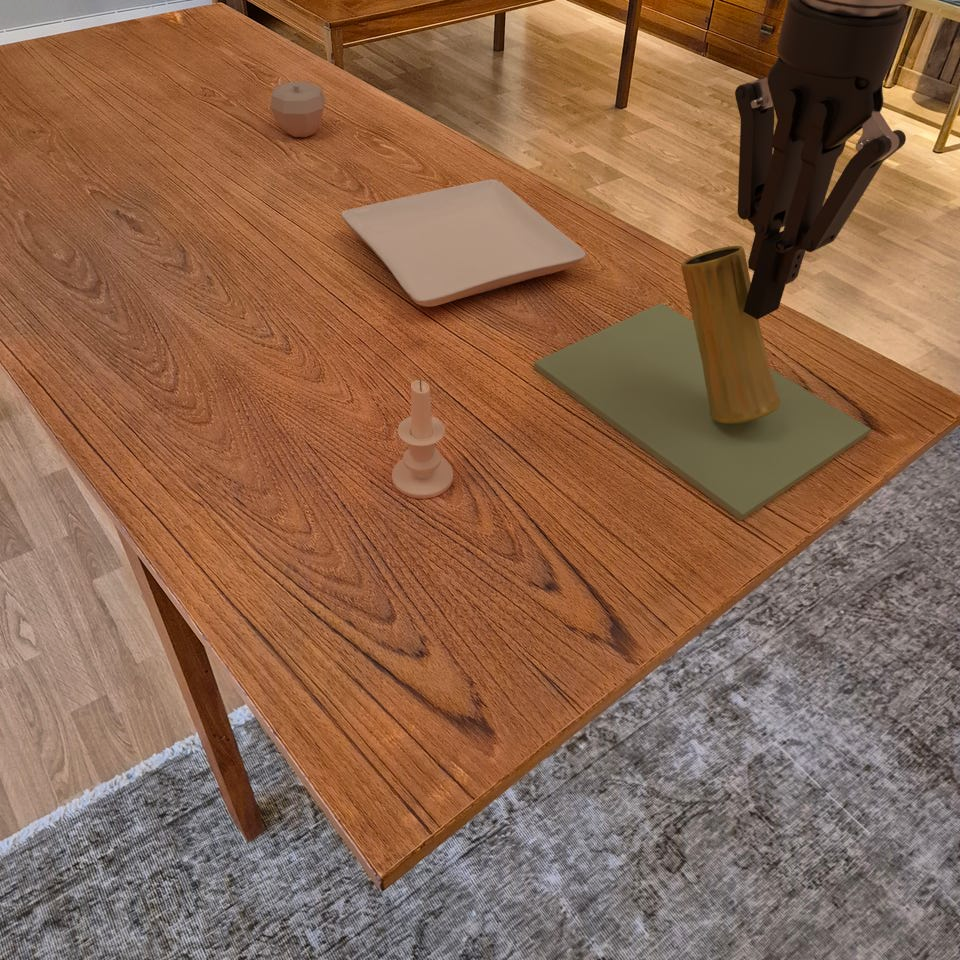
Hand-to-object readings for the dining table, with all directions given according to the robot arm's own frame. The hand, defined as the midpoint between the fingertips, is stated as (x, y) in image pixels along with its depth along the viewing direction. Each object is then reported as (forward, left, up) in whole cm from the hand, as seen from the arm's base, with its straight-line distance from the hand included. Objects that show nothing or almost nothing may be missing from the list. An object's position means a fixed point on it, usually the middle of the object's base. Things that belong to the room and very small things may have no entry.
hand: (760, 309), depth 74 cm
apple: (+46, +64, -12) cm, 80 cm away
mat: (+2, +3, -12) cm, 13 cm away
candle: (-16, +24, -12) cm, 32 cm away
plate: (+20, +32, -12) cm, 40 cm away
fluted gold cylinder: (-1, -1, -10) cm, 10 cm away
